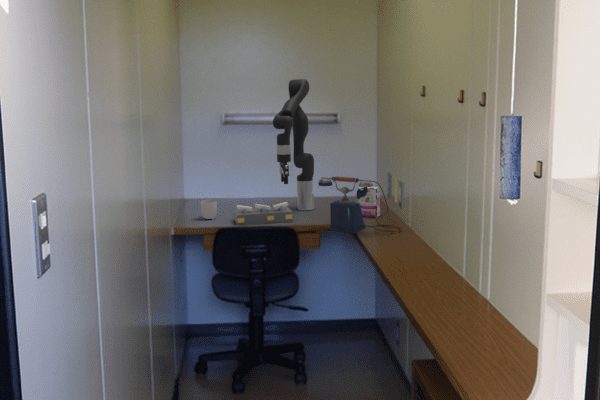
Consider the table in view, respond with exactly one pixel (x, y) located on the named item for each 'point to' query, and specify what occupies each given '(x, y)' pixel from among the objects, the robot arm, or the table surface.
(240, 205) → the rocker
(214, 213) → the mug
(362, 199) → the candy bar box
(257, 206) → the rocker middle
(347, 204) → the rotary telephone
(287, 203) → the plate
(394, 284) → the table surface
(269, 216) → the switch unit
